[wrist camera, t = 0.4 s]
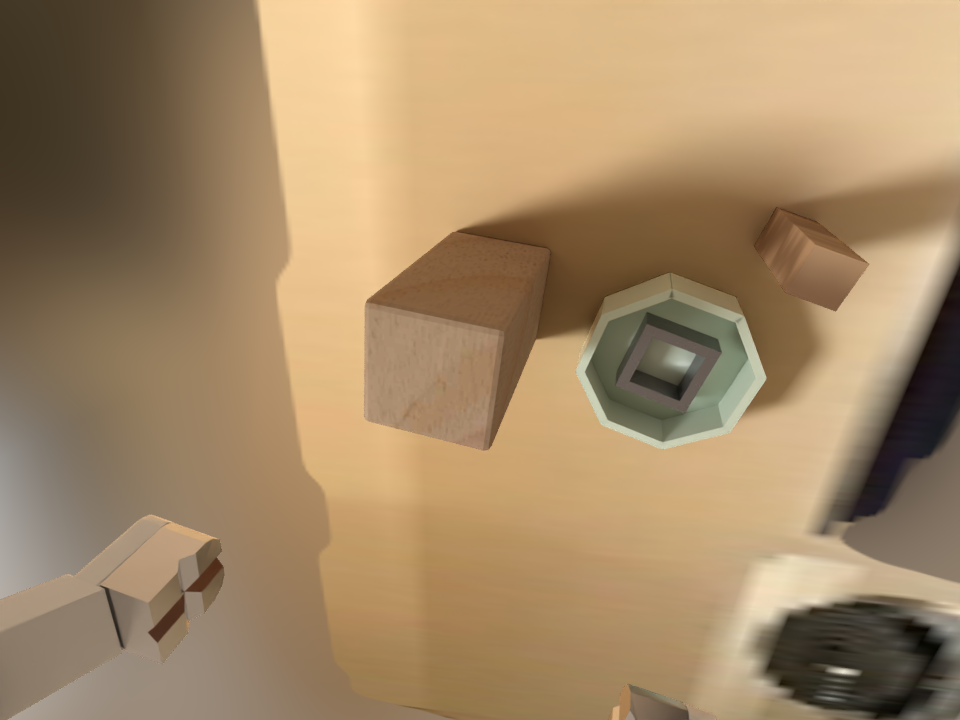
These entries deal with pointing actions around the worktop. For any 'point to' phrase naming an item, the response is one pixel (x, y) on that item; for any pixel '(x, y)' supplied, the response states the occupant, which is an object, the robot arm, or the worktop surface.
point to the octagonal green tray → (670, 362)
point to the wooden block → (453, 338)
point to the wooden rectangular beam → (809, 259)
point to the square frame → (658, 388)
